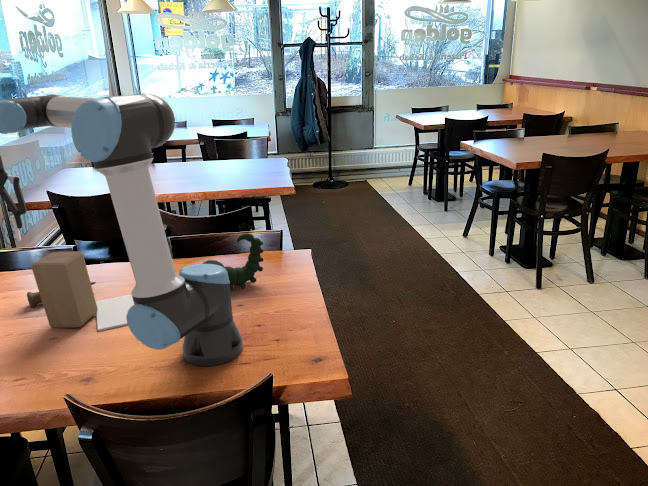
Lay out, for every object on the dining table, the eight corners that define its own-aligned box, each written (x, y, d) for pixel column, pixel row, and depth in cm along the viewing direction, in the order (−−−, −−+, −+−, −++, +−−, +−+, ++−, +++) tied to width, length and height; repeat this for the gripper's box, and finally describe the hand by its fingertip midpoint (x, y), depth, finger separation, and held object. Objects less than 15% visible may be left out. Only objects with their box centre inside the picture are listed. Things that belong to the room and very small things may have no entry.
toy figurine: (255, 280, 178) (183, 292, 165) (255, 227, 172) (181, 236, 160) (267, 290, 170) (192, 303, 158) (267, 235, 165) (190, 244, 152)
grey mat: (160, 317, 151) (160, 315, 151) (98, 331, 145) (97, 329, 144) (152, 291, 168) (151, 290, 168) (96, 302, 162) (95, 301, 162)
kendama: (29, 303, 165) (94, 285, 175) (32, 315, 157) (100, 296, 167) (24, 286, 163) (91, 269, 172) (26, 297, 155) (96, 279, 165)
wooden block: (69, 311, 156) (51, 250, 149) (99, 311, 155) (83, 249, 148) (48, 328, 147) (28, 264, 140) (80, 328, 145) (62, 263, 138)
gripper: (26, 149, 136) (45, 232, 144) (-58, 156, 129) (-33, 243, 137) (23, 153, 130) (43, 240, 138) (-66, 161, 123) (-39, 252, 131)
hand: (5, 241), depth 137 cm, fingers open, 6 cm apart
